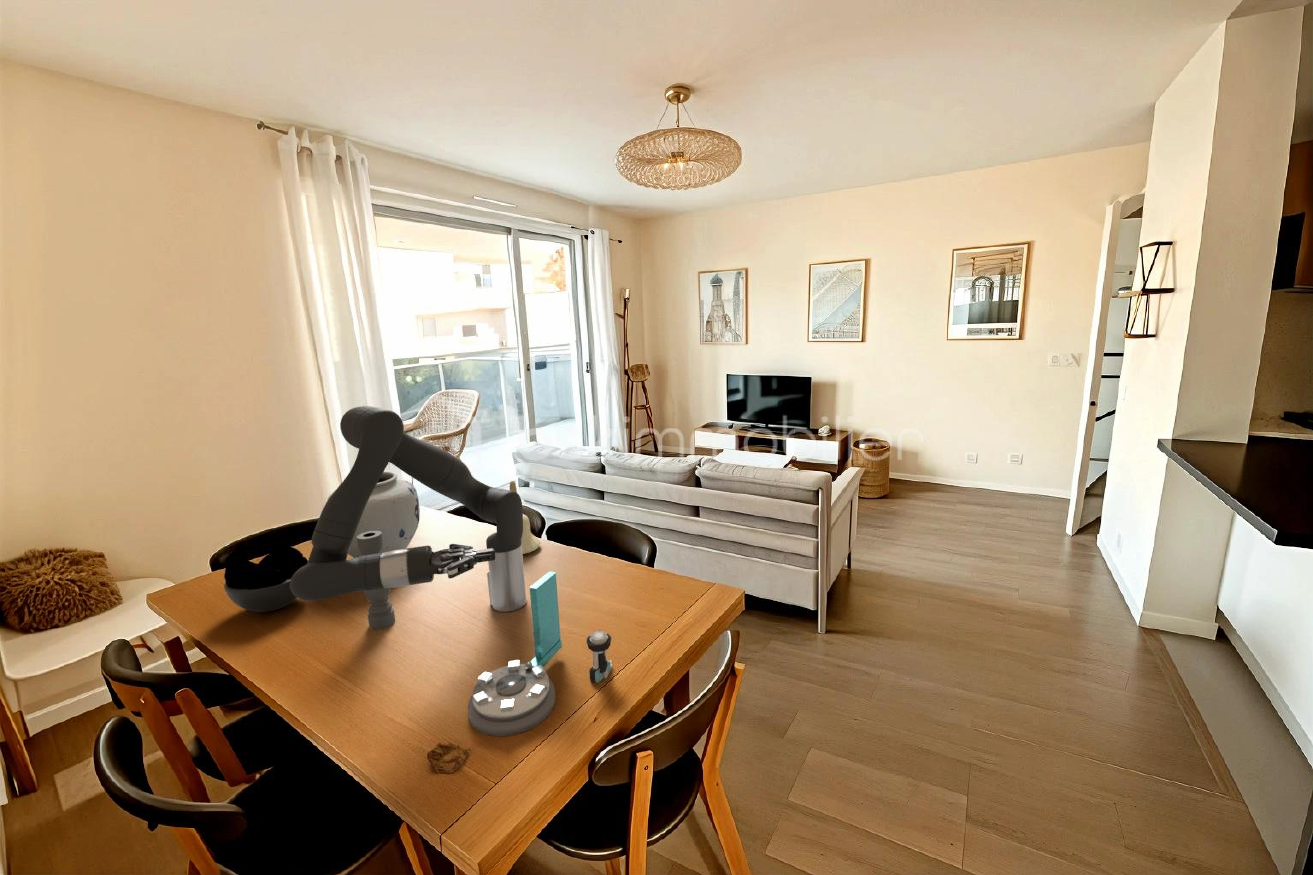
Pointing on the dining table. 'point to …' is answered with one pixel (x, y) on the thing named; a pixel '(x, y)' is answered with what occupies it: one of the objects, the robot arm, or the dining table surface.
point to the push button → (599, 655)
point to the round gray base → (515, 725)
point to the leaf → (444, 749)
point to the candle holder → (380, 606)
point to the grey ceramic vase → (389, 514)
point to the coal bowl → (263, 577)
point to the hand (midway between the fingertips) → (494, 553)
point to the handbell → (526, 531)
